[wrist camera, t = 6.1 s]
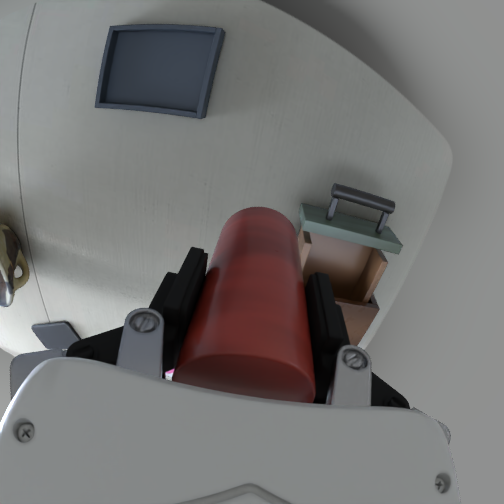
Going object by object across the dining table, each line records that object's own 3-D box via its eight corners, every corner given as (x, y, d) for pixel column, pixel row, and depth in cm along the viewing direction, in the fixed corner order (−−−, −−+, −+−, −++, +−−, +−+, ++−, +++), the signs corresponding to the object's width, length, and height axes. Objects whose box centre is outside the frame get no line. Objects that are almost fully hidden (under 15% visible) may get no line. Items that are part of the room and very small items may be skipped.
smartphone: (85, 349, 50) (47, 350, 52) (87, 345, 50) (49, 347, 53) (65, 322, 46) (29, 326, 49) (67, 319, 47) (31, 324, 50)
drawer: (310, 170, 30) (316, 182, 26) (400, 197, 30) (417, 213, 26) (274, 290, 38) (274, 314, 34) (352, 305, 39) (359, 328, 34)
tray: (225, 32, 24) (222, 28, 22) (205, 117, 29) (201, 118, 27) (118, 28, 23) (109, 26, 21) (103, 106, 28) (94, 107, 26)
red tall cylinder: (262, 190, 15) (246, 328, 6) (312, 246, 16) (342, 401, 8) (205, 238, 17) (145, 383, 8) (255, 286, 18) (240, 436, 9)
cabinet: (278, 258, 37) (278, 290, 31) (366, 277, 37) (379, 309, 32) (255, 332, 44) (252, 365, 38) (331, 344, 44) (336, 376, 38)
